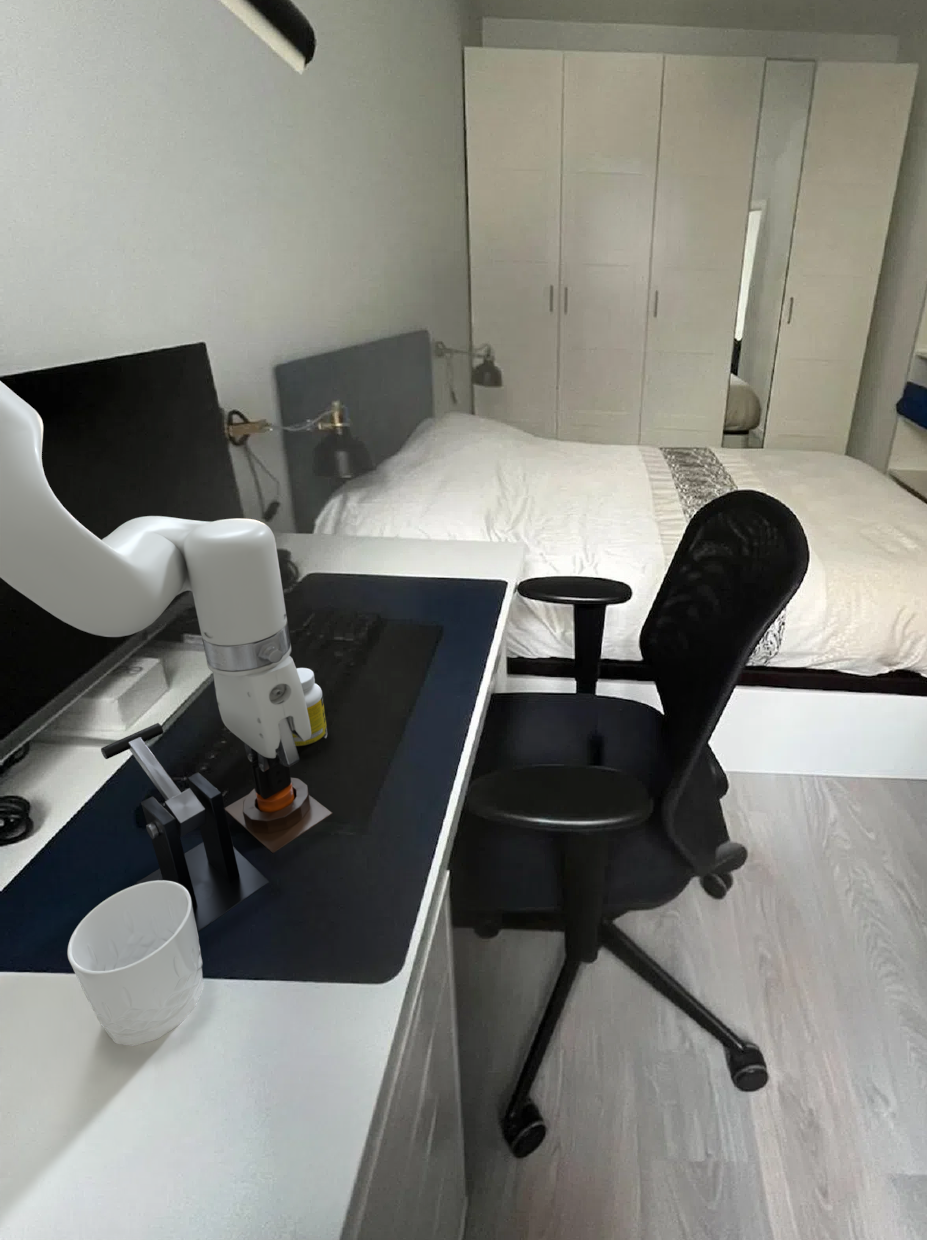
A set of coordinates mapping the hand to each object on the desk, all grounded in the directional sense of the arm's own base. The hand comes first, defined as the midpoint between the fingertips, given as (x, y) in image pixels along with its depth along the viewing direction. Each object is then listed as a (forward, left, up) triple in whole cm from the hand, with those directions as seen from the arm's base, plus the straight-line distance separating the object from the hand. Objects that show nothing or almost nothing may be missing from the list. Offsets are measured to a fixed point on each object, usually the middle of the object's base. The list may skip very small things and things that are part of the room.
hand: (273, 788), depth 71 cm
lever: (-2, -9, +6) cm, 11 cm away
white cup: (+12, -17, -5) cm, 21 cm away
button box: (0, 0, -4) cm, 4 cm away
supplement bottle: (-10, +10, -5) cm, 15 cm away
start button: (0, 0, -2) cm, 2 cm away
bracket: (+3, -9, -4) cm, 11 cm away
